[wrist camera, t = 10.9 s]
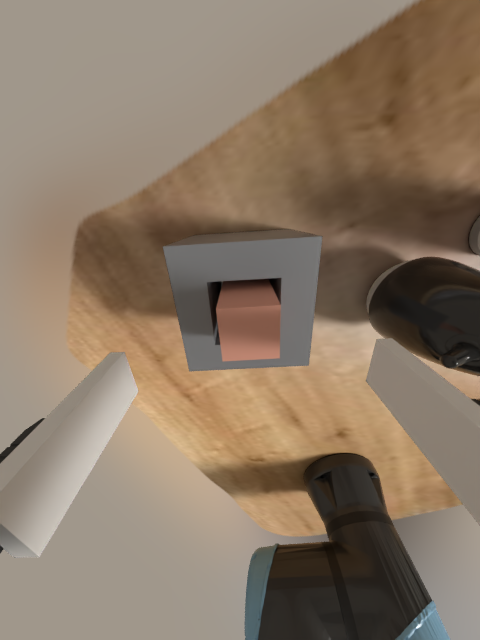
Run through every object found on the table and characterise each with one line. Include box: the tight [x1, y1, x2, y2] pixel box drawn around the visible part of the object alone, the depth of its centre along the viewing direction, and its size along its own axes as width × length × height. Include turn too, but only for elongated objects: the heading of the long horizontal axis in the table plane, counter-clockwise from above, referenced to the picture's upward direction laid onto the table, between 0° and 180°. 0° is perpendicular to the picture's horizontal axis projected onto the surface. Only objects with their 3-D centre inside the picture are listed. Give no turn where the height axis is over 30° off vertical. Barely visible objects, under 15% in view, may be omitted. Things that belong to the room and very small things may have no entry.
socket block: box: [163, 229, 322, 371], centre depth 22 cm, size 11×11×11 cm
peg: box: [216, 279, 281, 361], centre depth 18 cm, size 4×4×10 cm
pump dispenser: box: [366, 257, 480, 376], centre depth 21 cm, size 10×10×15 cm
